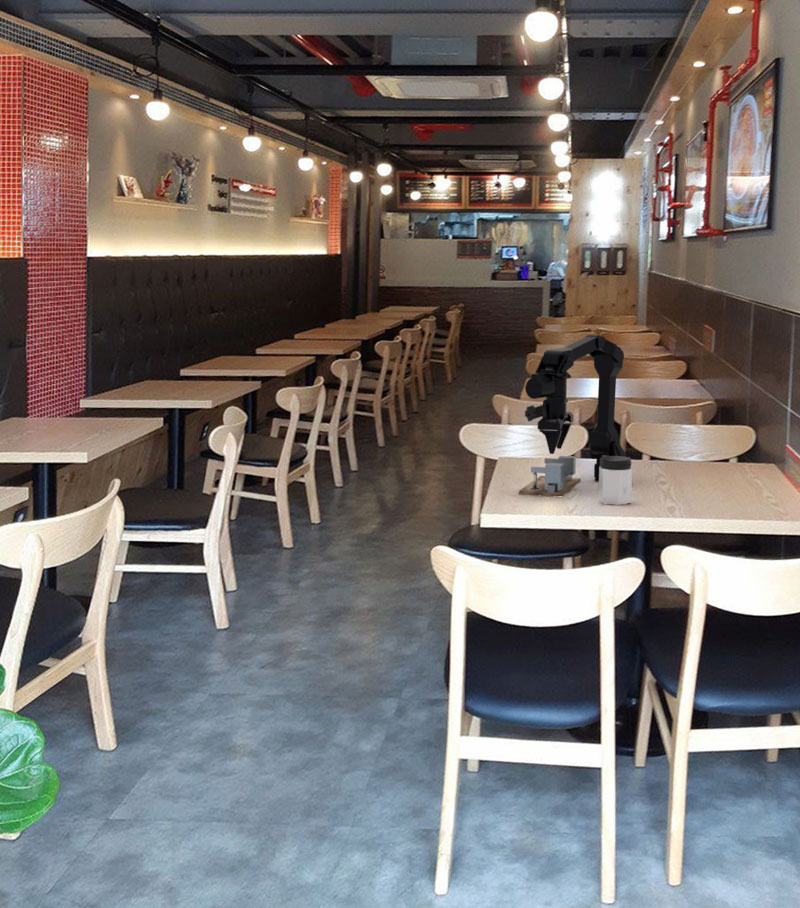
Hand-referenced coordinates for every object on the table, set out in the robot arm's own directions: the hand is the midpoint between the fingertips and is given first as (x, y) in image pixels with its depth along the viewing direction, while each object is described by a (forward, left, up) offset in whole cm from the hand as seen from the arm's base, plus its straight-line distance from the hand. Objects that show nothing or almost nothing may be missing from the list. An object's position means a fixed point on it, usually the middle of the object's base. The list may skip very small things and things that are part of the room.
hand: (555, 451), depth 325 cm
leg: (+2, +2, -10) cm, 11 cm away
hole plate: (+3, -6, -12) cm, 14 cm away
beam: (+2, -5, -11) cm, 12 cm away
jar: (-18, +8, -12) cm, 23 cm away
